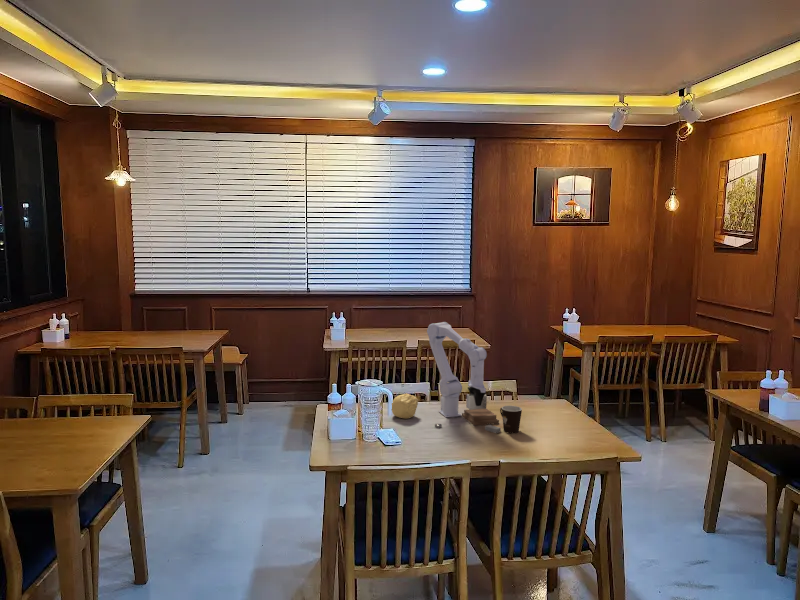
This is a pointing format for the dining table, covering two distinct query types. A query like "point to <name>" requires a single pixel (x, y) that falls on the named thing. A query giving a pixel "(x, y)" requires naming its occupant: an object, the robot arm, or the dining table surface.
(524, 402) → the dining table surface
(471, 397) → the block
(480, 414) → the stand
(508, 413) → the coffee mug
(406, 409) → the tan rounded lump
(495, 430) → the grey offcut
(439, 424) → the steel nut
